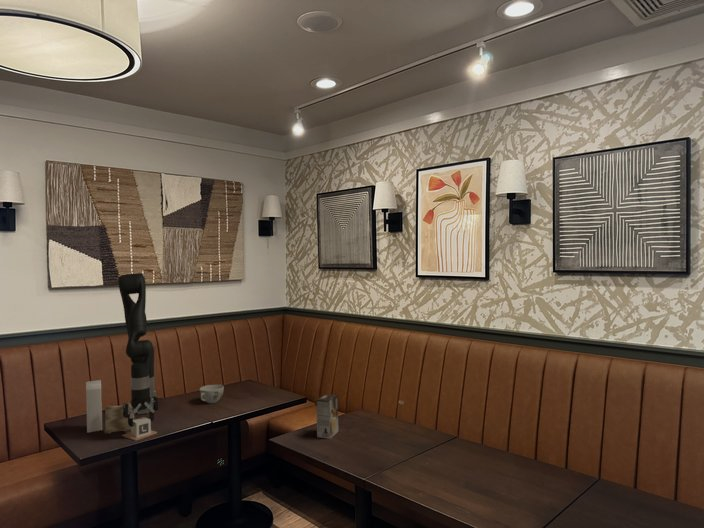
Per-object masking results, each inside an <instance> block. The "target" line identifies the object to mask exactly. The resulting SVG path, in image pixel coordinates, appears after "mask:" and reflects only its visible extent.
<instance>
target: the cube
mask: <svg viewBox="0 0 704 528" xmlns="http://www.w3.org/2000/svg"><path fill="white" fill-rule="evenodd" d="M151 426H152V422H151V420H150V419H149V417H146V416H141V417H138V418H134V420H133V427H131V434H132V435H133V436H135V437H141V436H144V435H148V434H151V430H152V427H151Z"/></svg>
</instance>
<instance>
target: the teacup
mask: <svg viewBox="0 0 704 528" xmlns="http://www.w3.org/2000/svg"><path fill="white" fill-rule="evenodd" d="M224 388H225V385H223V384H209V385H208V384H206V385H204V386H202V387H200V388H199V394H200V400H201V401H203V402H206V403H207V404H216V403H218V402H219V401H220V399H222V397H223V394H224V390H225V389H224Z"/></svg>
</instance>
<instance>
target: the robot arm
mask: <svg viewBox="0 0 704 528" xmlns="http://www.w3.org/2000/svg"><path fill="white" fill-rule="evenodd" d="M117 283H118V290H119V292H120V297H121V301H122V305H123V313H124V320H125V327H126V331H127V337H128V338H127V343H126V347H125V354H126V356H127V357H128V358H129V359H130V361H131V364H130V397H131V398H130V399H131V400H130V402H123V405H122V406H123V417H125V418H128V425H129V426H130V427H133V418H132V417H133V416H134V417H135V414H136V413H137V415H146V414H148V419H150V420H151V423H152V422H154V420H155V412H156V411H159V408H160V407H159V399H158V396H157V390H155V347H154V345H153V343H152V341H151V340H149V339H143V340H140V338H141V337H144V336H146V335H147V327H148V321H147V314H146V305H147V304H146V303H147V301H146V300H147V299H146V297H147V291H146V289H147V288H146V287H147V285H146V278H145V276H144V274H143V273H142V272H141V273H128V274H121V275H119V277H118V280H117ZM135 294H137V295H138V297H137V300H136V302H135V301H134V300H133V299H132V298H131V295H135ZM130 406H132V408H131V410H130V412H129V414H128V408H129V407H130ZM145 413H146V414H145Z"/></svg>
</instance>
